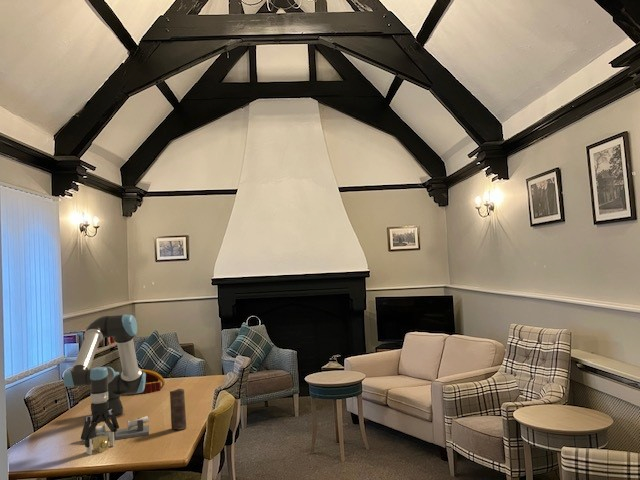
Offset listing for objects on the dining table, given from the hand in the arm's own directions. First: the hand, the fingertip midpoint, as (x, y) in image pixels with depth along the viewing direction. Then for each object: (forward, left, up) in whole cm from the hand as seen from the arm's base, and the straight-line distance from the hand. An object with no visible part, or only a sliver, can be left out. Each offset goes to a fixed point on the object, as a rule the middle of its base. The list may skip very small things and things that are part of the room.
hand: (100, 449), depth 235 cm
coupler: (0, 0, 0) cm, 0 cm away
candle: (+10, +38, 0) cm, 39 cm away
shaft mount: (-11, +17, 0) cm, 20 cm away
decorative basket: (-86, +91, -1) cm, 125 cm away
